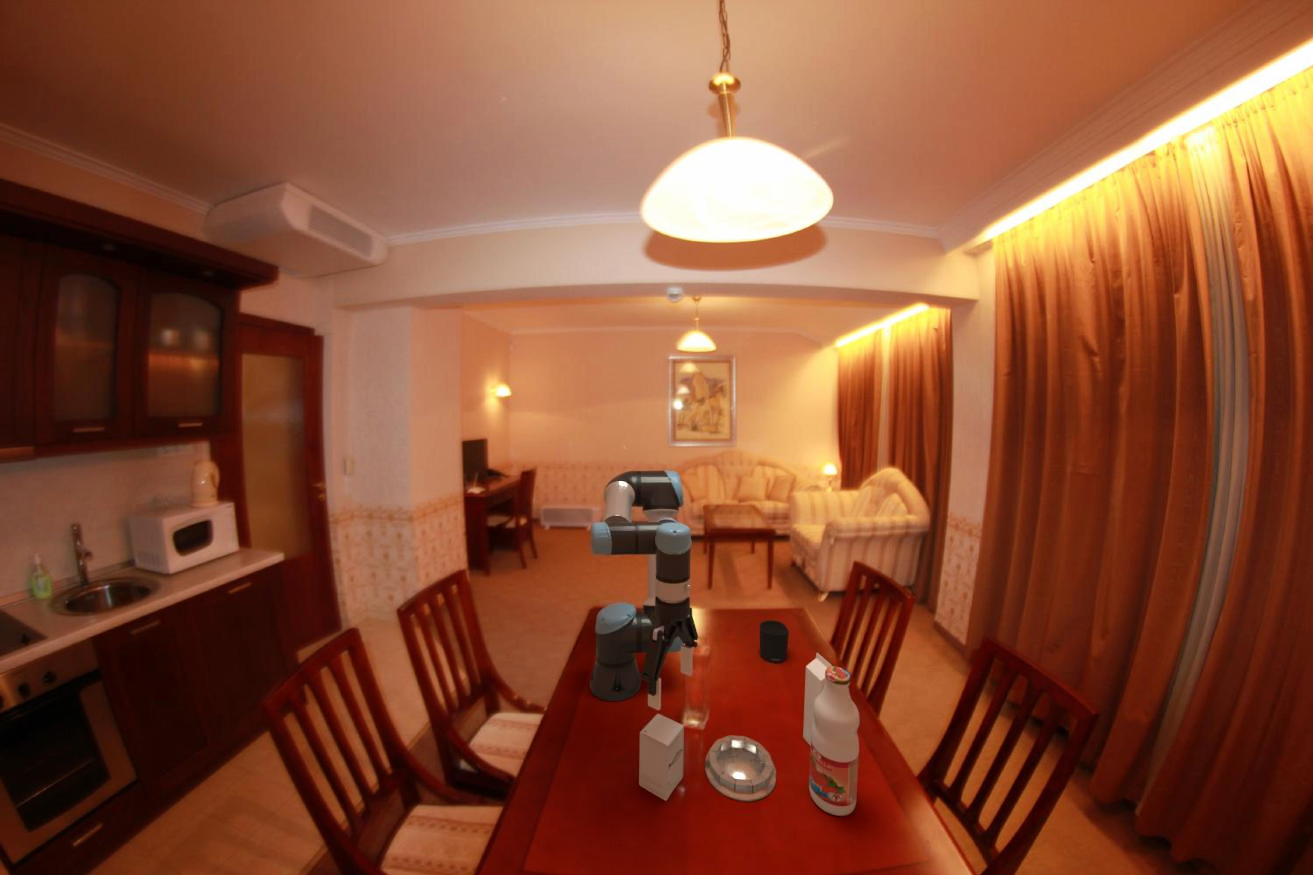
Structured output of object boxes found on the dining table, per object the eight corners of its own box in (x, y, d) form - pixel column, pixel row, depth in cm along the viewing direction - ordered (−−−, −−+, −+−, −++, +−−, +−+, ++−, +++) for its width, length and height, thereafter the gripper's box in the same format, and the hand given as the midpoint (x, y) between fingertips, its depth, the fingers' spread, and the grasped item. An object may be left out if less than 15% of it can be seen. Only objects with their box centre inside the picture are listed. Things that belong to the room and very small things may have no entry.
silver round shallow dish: (692, 777, 99) (692, 765, 99) (723, 733, 112) (724, 723, 112) (760, 815, 90) (760, 802, 90) (785, 763, 103) (786, 752, 103)
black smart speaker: (753, 656, 147) (754, 627, 146) (766, 645, 154) (767, 617, 153) (780, 668, 141) (781, 637, 140) (792, 655, 148) (793, 626, 147)
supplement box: (666, 802, 93) (667, 746, 92) (638, 785, 97) (638, 731, 96) (684, 778, 99) (685, 724, 98) (656, 762, 103) (657, 711, 102)
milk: (817, 755, 106) (821, 668, 104) (802, 737, 112) (805, 653, 110) (839, 749, 108) (842, 663, 106) (823, 731, 113) (826, 650, 111)
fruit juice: (866, 811, 91) (873, 683, 89) (826, 822, 89) (832, 690, 87) (836, 774, 100) (842, 656, 98) (800, 783, 98) (804, 662, 96)
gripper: (655, 624, 83) (654, 731, 85) (713, 580, 104) (711, 666, 106) (623, 614, 87) (623, 715, 89) (685, 573, 108) (684, 656, 110)
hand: (671, 689), depth 97 cm, fingers open, 13 cm apart
